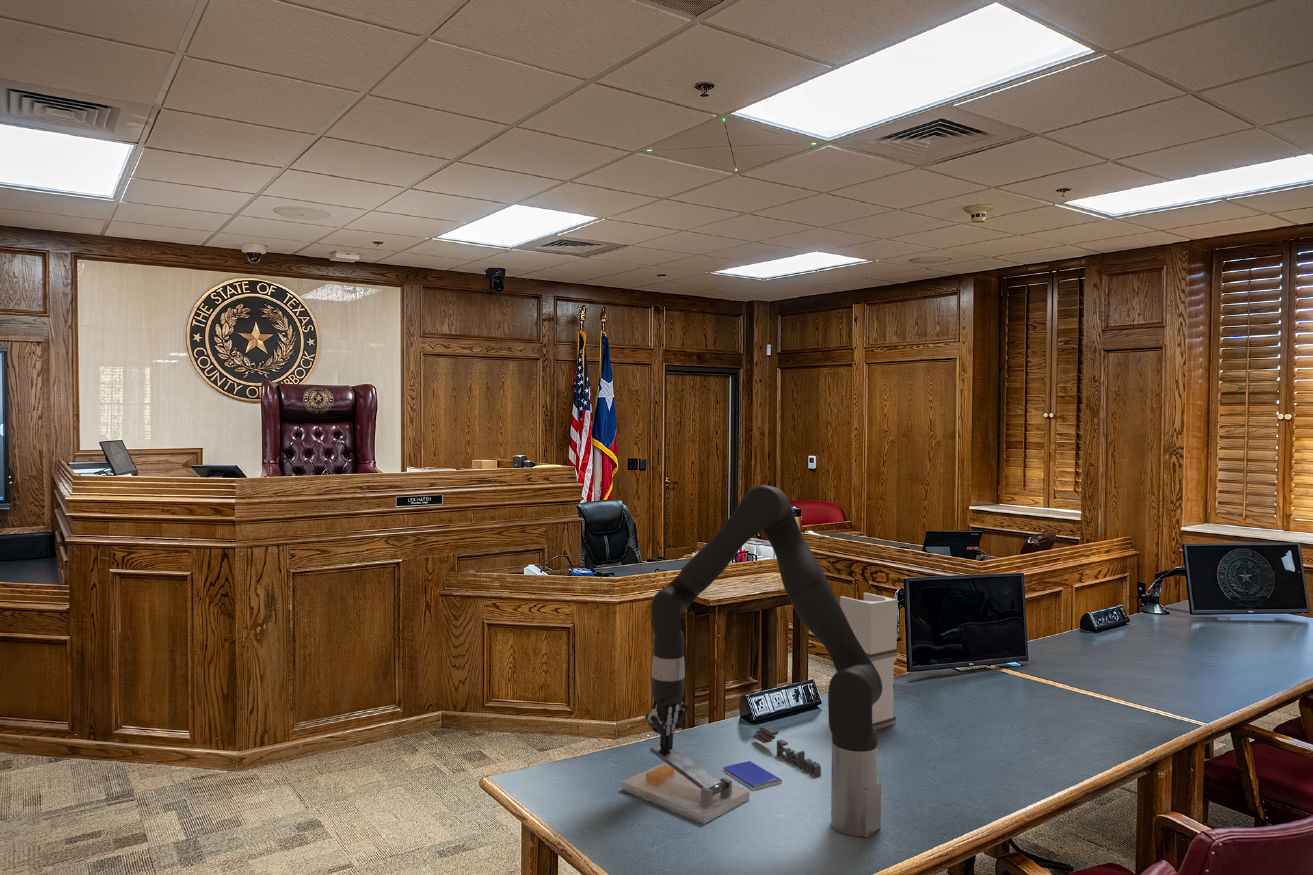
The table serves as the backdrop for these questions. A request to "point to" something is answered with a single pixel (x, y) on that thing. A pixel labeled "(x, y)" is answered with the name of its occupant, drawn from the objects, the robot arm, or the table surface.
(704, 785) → the flat pivoting pedal
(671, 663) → the robot arm
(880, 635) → the tall open-top box
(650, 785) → the mounting plate
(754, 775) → the hard drive
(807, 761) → the extruded letter logo
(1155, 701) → the table surface
